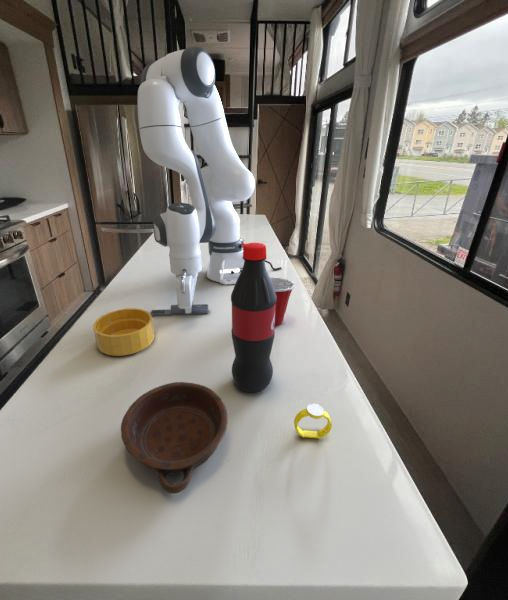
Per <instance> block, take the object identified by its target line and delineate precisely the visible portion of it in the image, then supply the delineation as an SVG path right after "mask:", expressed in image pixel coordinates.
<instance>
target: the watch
mask: <svg viewBox="0 0 508 600" xmlns="http://www.w3.org/2000/svg"><path fill="white" fill-rule="evenodd" d="M306 417H309V418H312V419H313V420H319V419H322V418H324V419H326V420H327V423H326V425H325V426H324V427H323V428H321V429H319V430H317V431H316V430H315V431H314V430H306V429H302V428H300V427H299V423H300V421H301V420H302V419H304V418H306ZM293 424H294V429H295V432H296V433H297V434H298V435H299V436H300V437H301V438H308V439H319V440H320V439H321V438H324V437H326V436H328V434H329V433H330V432H331V431H332V426H333V423H332V420H331V416H330V415H329V413H328V412H327V411H325V409H324V408H323V406H321V405H320V404H317V403H309V404H307V406H306V408H303V409H302V410H300V411H299V412H297V413H296V415H295V416H294V419H293Z"/></svg>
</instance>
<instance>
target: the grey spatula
mask: <svg viewBox="0 0 508 600" xmlns="http://www.w3.org/2000/svg"><path fill="white" fill-rule="evenodd" d="M150 314H151V315H152V317H154V316H155V317H159V316H161V317H162V316H165V317H166V316H167V317H168V316H172V315H207V314H209V304H208V303H206V304H205V303H203V304H199V303H198V304H193V305H192V311H191V313H185V309H180V308H179V307H178V304H171V306H170V309H152V310H151V313H150Z"/></svg>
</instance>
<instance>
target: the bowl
mask: <svg viewBox="0 0 508 600" xmlns="http://www.w3.org/2000/svg"><path fill="white" fill-rule="evenodd" d="M92 328H93V335H94V338H95V343H96V347H97V349H98V350H99V352H101V353H103V354H105V355H108V356H115V357H116V356H119V357H120V356H128V355H133V354H135V353H138V352H141V351H143V350H145V349H146V348H148V347H150V345H151V344H152V343H154V340H155V328H154V320H153V316H152V315H151V313H150V312H149V311H147V310H145V309H143V308H135V307H133V308H132V307H131V308H130V307H129V308H128V307H127V308H120V309H116V310H113V311H109V312H107V313H105V314H103V315H101V316H100V317H98V318H97V319H96V320H95V322H94V323H93V326H92Z"/></svg>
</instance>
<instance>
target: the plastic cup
mask: <svg viewBox="0 0 508 600" xmlns="http://www.w3.org/2000/svg"><path fill="white" fill-rule="evenodd" d="M270 278H271V281H272V283H273V286H274V289H275V293H276V296H277V301H276V307H275V326H274V327H278V326H280V325H282V324H283V322H284V318H285V314H286V312H287V309H288V308H287V307H288V303H289V300H290V297H291V294H292V292H293V290H294V288H295V282H293V281H292V280H289V279H287V278H282V277H275V276H270Z"/></svg>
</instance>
